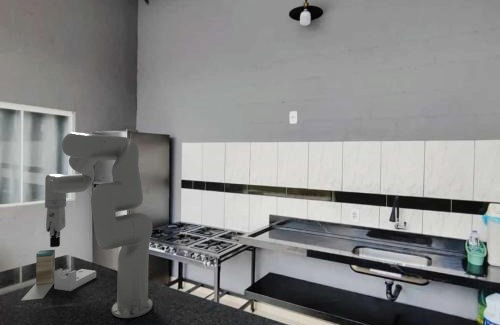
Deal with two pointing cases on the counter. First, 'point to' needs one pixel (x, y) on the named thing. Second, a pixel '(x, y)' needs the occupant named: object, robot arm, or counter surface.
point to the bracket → (72, 278)
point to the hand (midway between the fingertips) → (55, 246)
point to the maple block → (45, 267)
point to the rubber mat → (37, 292)
